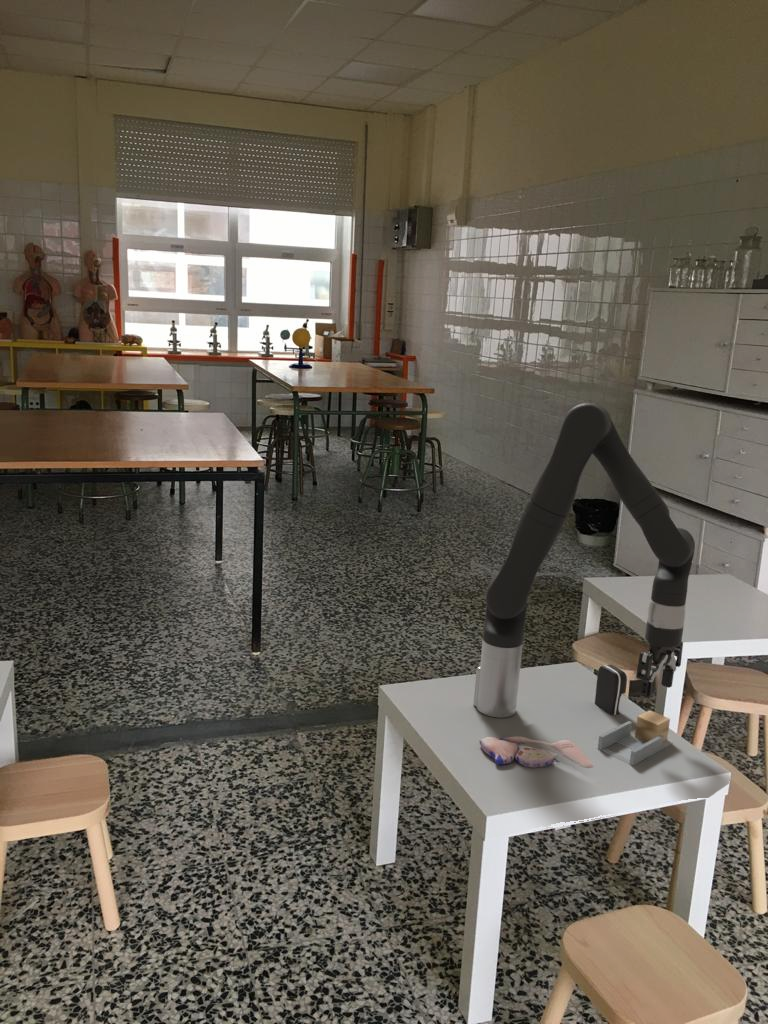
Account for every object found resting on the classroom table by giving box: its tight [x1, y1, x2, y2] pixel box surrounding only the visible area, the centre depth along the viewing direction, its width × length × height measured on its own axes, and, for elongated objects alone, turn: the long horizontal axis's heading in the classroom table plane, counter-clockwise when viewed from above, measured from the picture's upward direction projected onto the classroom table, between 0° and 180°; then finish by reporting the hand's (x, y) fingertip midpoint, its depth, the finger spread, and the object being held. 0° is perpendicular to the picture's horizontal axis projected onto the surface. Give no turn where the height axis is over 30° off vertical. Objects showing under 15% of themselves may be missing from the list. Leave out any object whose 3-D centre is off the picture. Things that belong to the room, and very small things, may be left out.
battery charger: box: [594, 664, 628, 716], centre depth 200 cm, size 7×4×11 cm, turn 25°
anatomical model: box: [479, 735, 595, 769], centre depth 178 cm, size 20×3×15 cm
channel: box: [597, 720, 673, 766], centre depth 183 cm, size 9×16×4 cm, turn 132°
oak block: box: [635, 710, 671, 742], centre depth 186 cm, size 5×5×5 cm
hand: (656, 691), depth 184 cm, fingers open, 8 cm apart
